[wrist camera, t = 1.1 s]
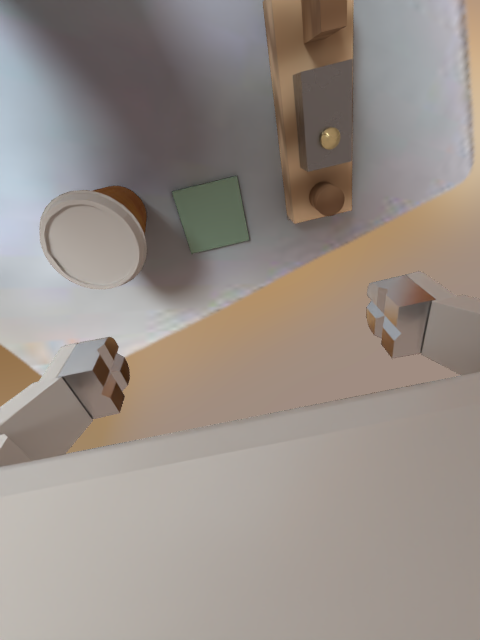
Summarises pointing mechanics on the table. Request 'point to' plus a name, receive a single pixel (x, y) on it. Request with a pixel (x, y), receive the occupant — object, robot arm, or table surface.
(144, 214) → the disposable coffee cup
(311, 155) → the lever cap
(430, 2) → the table surface
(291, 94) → the plane body
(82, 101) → the table surface
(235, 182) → the felt pad
